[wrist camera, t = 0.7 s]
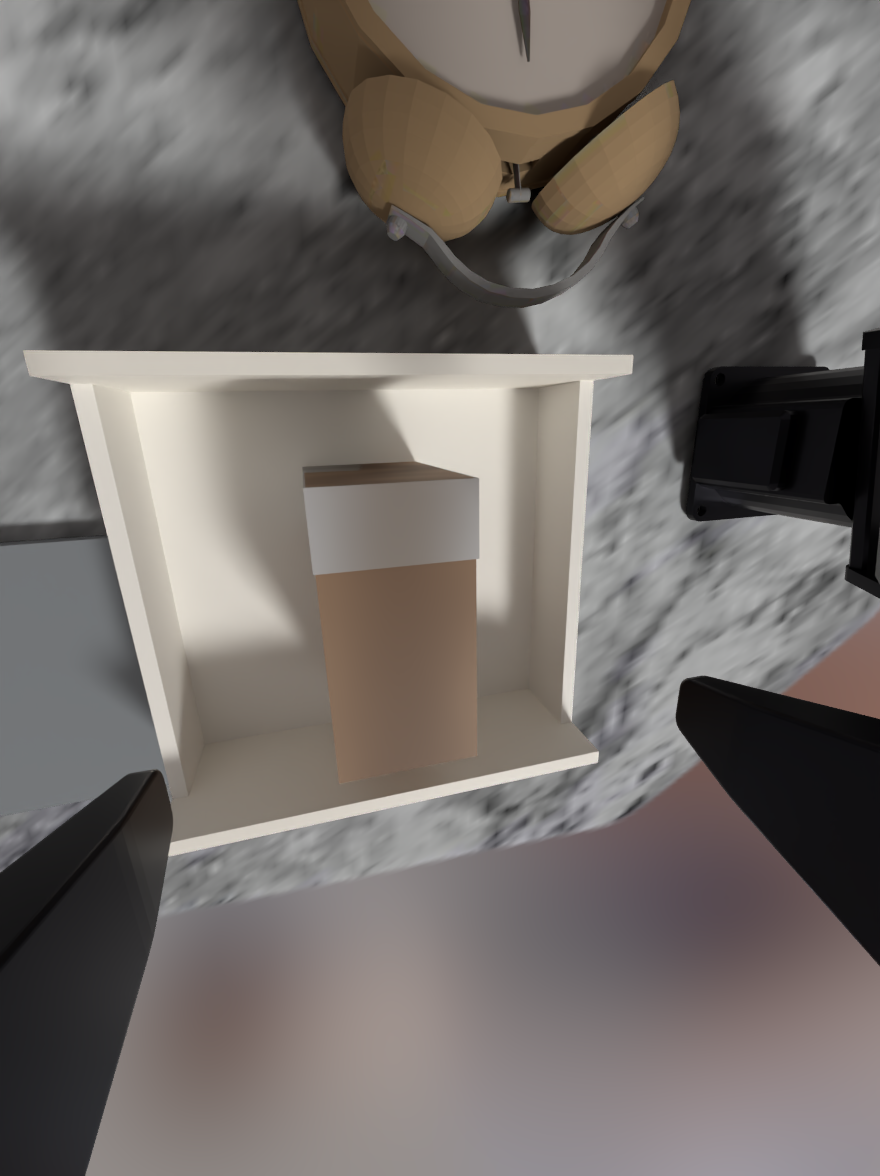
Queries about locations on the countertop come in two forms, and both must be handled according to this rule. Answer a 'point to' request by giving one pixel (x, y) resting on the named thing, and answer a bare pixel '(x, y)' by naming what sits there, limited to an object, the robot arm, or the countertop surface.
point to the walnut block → (396, 611)
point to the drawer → (284, 569)
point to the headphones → (500, 115)
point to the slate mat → (67, 677)
